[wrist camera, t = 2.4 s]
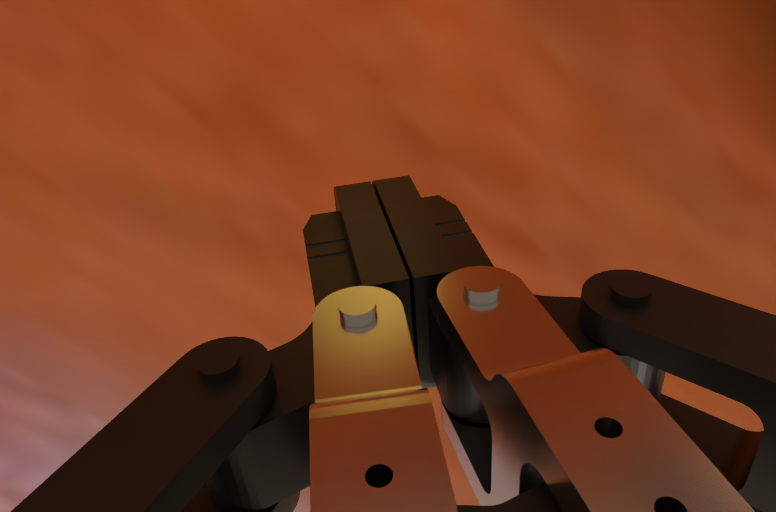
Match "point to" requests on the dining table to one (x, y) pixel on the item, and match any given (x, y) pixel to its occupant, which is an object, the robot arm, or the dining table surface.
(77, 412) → the dining table surface
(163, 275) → the dining table surface
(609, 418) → the robot arm
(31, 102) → the dining table surface
